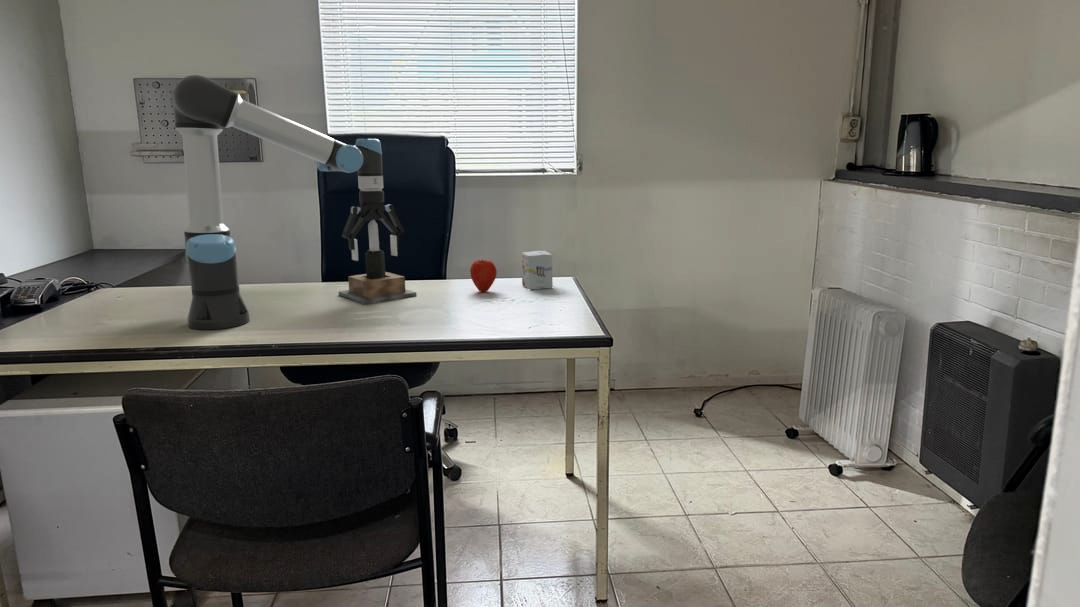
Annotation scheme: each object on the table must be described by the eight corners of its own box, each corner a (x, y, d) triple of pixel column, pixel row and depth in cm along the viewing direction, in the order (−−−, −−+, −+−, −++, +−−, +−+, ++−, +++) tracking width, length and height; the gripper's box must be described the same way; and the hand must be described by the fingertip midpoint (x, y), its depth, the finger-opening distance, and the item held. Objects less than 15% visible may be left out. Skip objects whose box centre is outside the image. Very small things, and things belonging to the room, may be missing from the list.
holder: (364, 304, 207) (363, 284, 205) (338, 295, 220) (337, 276, 219) (416, 295, 218) (415, 276, 217) (388, 287, 232) (387, 269, 230)
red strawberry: (498, 289, 228) (498, 257, 226) (494, 294, 220) (493, 261, 218) (473, 288, 229) (472, 256, 227) (468, 294, 221) (467, 261, 218)
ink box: (521, 285, 234) (521, 251, 232) (545, 283, 237) (545, 250, 234) (528, 290, 226) (528, 254, 224) (553, 288, 229) (553, 253, 226)
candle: (387, 290, 221) (382, 212, 215) (382, 293, 216) (377, 214, 211) (372, 290, 222) (367, 212, 216) (366, 293, 217) (361, 214, 211)
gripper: (338, 192, 201) (343, 263, 206) (412, 188, 217) (415, 254, 222) (327, 191, 206) (332, 260, 211) (400, 187, 222) (403, 252, 227)
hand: (375, 257), depth 216 cm, fingers open, 13 cm apart
